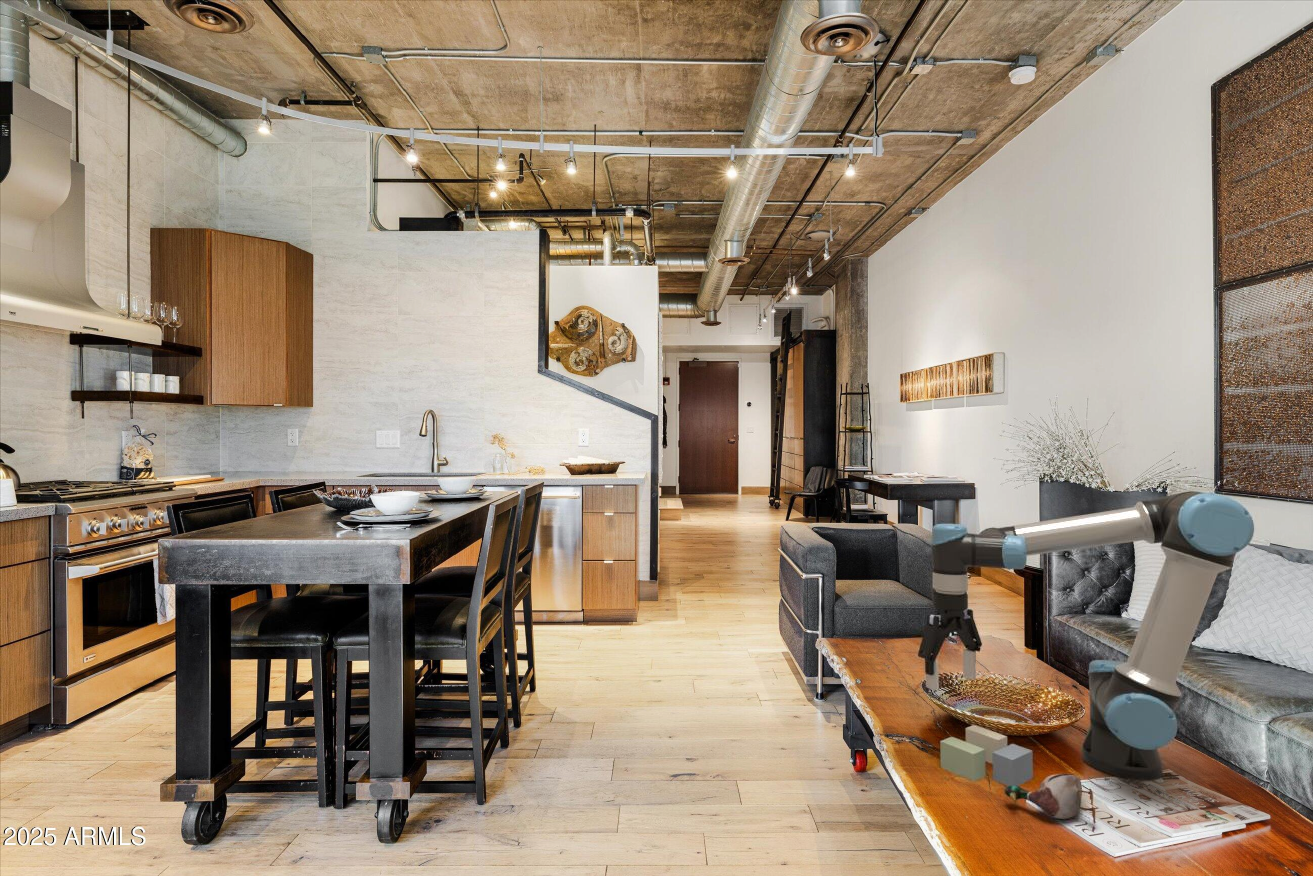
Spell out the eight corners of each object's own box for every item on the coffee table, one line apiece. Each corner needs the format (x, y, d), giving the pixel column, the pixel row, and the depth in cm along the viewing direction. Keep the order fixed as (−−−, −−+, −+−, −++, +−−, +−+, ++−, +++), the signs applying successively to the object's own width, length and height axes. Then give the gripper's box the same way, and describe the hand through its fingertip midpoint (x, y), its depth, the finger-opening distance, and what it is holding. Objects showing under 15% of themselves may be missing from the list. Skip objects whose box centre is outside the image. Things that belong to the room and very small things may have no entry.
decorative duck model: (998, 779, 133) (1014, 750, 144) (1003, 818, 132) (1019, 786, 144) (1087, 795, 123) (1096, 763, 135) (1093, 838, 123) (1102, 801, 134)
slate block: (1013, 770, 150) (1012, 743, 150) (1033, 778, 146) (1032, 750, 146) (993, 780, 146) (992, 752, 146) (1013, 788, 142) (1012, 760, 142)
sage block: (985, 776, 147) (985, 749, 147) (974, 782, 145) (973, 754, 145) (952, 763, 154) (951, 736, 154) (940, 768, 152) (940, 741, 152)
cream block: (1007, 762, 154) (1007, 736, 154) (998, 766, 152) (998, 740, 152) (974, 750, 161) (974, 725, 161) (965, 754, 159) (965, 728, 159)
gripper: (968, 583, 165) (969, 670, 164) (900, 593, 152) (901, 688, 151) (997, 588, 159) (998, 678, 158) (929, 599, 146) (930, 698, 145)
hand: (951, 683), depth 155 cm, fingers open, 13 cm apart
